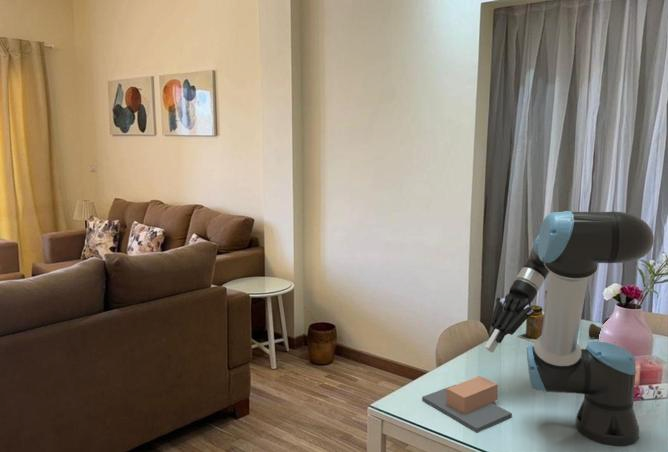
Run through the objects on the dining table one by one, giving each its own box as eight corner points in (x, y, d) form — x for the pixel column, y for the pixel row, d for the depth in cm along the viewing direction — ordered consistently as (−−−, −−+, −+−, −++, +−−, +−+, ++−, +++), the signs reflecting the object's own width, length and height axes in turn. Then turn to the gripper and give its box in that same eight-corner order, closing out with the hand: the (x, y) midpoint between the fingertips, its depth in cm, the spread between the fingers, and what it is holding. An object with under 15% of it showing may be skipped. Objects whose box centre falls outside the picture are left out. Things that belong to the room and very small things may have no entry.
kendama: (624, 332, 217) (613, 347, 201) (598, 328, 223) (585, 342, 207) (624, 318, 216) (613, 331, 200) (598, 314, 222) (585, 327, 206)
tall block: (497, 384, 161) (464, 397, 154) (497, 400, 162) (464, 414, 155) (479, 375, 167) (446, 388, 160) (479, 391, 168) (446, 404, 160)
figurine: (560, 349, 200) (561, 310, 198) (555, 357, 194) (557, 317, 191) (536, 345, 205) (537, 307, 202) (530, 353, 198) (532, 313, 196)
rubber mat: (511, 417, 155) (511, 413, 154) (476, 432, 147) (476, 428, 147) (455, 388, 173) (455, 384, 173) (422, 400, 166) (422, 396, 165)
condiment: (547, 337, 213) (548, 307, 211) (533, 342, 208) (534, 312, 206) (531, 331, 219) (532, 303, 217) (517, 336, 214) (518, 307, 212)
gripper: (549, 297, 165) (512, 363, 159) (514, 288, 176) (478, 349, 170) (539, 283, 162) (500, 350, 156) (503, 274, 172) (466, 337, 166)
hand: (488, 349), depth 163 cm, fingers closed
